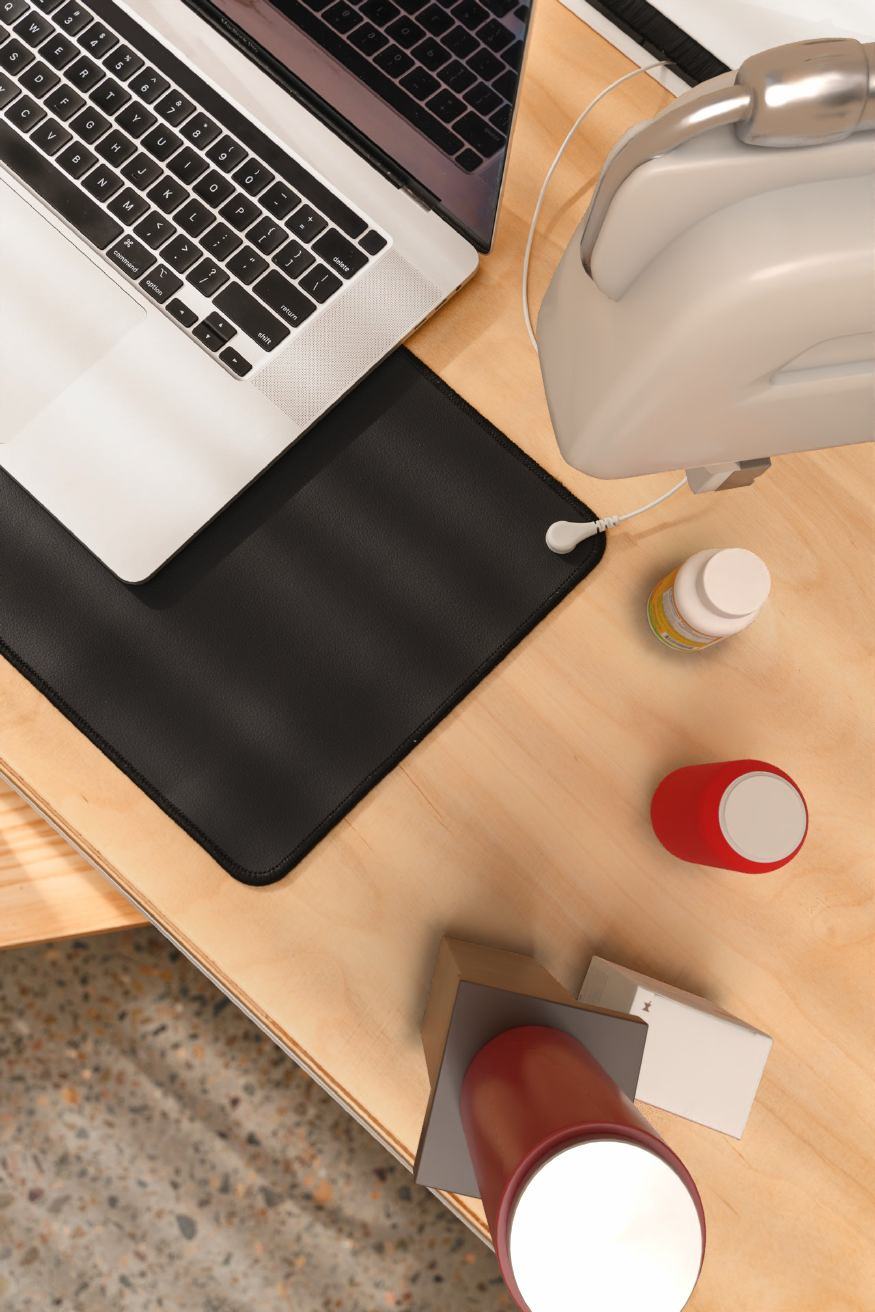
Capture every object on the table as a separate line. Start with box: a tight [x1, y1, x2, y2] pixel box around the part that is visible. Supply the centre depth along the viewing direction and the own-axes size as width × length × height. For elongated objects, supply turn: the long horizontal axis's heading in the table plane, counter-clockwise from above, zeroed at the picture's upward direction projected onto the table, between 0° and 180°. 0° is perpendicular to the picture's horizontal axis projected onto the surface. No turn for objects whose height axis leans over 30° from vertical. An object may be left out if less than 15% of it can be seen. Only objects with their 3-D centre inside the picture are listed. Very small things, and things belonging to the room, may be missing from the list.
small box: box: [576, 955, 774, 1141], centre depth 56 cm, size 8×6×10 cm
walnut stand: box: [412, 935, 649, 1201], centre depth 50 cm, size 8×8×22 cm
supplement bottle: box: [646, 547, 772, 653], centre depth 60 cm, size 5×5×10 cm
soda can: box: [460, 1025, 707, 1312], centre depth 33 cm, size 6×6×13 cm
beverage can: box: [649, 758, 810, 875], centre depth 57 cm, size 6×6×12 cm
